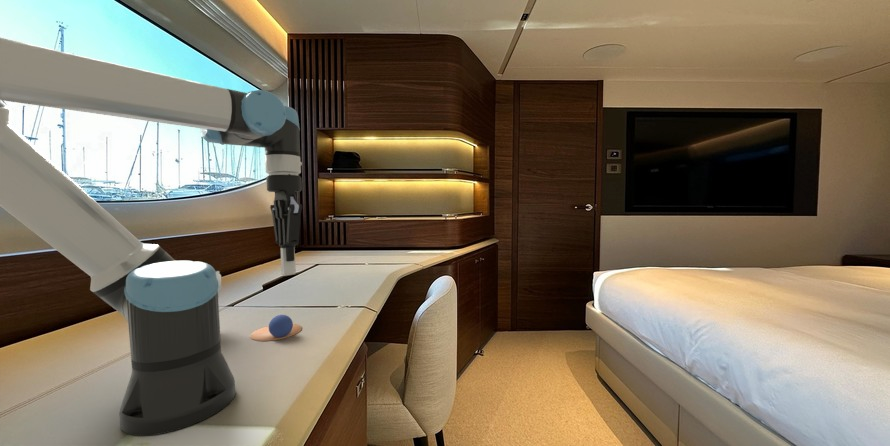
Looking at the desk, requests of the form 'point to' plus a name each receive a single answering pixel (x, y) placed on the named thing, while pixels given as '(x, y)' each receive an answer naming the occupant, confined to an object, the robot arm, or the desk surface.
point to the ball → (280, 326)
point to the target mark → (265, 335)
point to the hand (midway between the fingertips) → (288, 274)
